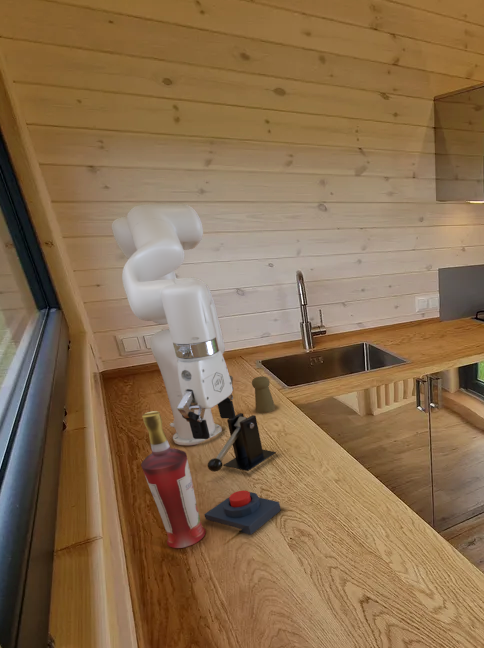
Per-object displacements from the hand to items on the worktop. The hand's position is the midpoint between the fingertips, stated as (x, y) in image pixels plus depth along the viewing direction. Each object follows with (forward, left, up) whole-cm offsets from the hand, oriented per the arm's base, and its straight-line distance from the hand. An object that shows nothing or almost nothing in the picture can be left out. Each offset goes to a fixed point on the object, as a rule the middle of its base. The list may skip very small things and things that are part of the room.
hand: (215, 427), depth 102 cm
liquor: (+1, -13, -19) cm, 23 cm away
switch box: (+5, -3, -19) cm, 20 cm away
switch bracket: (-11, +16, -19) cm, 27 cm away
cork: (-32, +45, -19) cm, 59 cm away
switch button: (+5, -3, -16) cm, 17 cm away
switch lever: (-11, +12, -13) cm, 20 cm away
